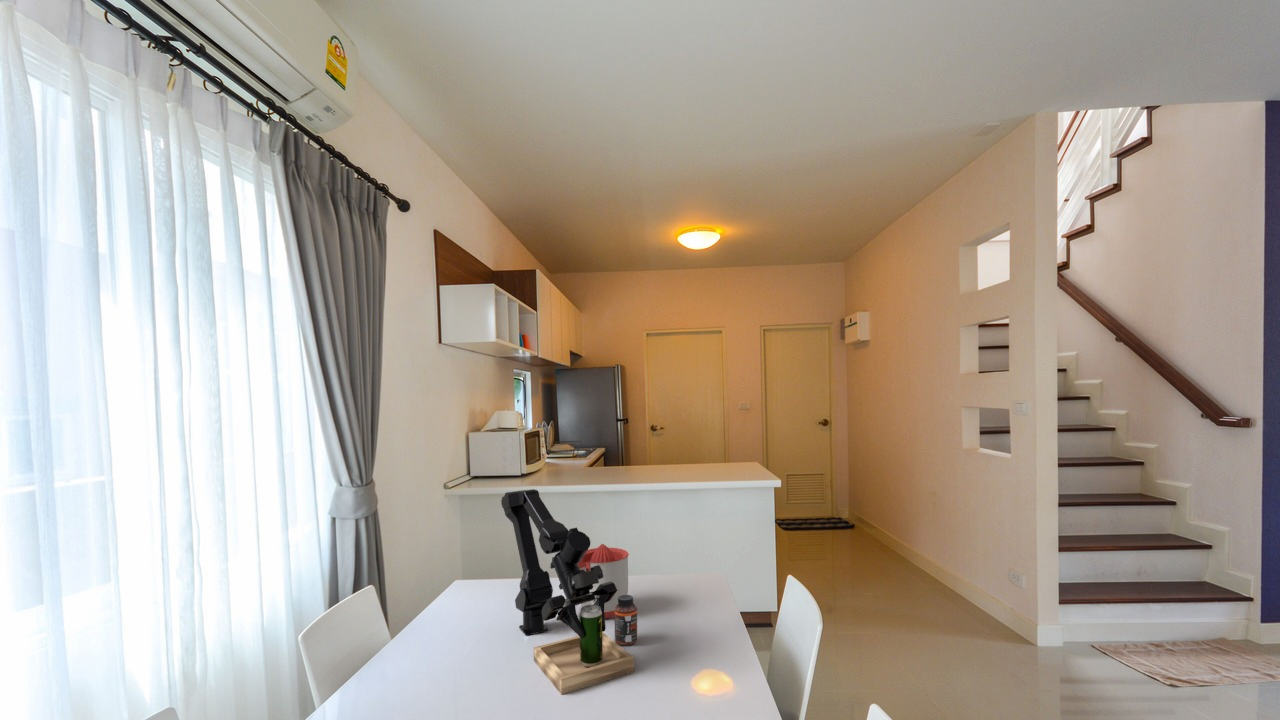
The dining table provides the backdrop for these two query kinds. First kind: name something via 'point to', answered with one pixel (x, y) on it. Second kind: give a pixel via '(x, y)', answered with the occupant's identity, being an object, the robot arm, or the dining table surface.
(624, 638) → the supplement bottle
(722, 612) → the dining table surface
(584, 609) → the beer can
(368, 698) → the dining table surface
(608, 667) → the wooden tray
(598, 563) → the citrus juicer
